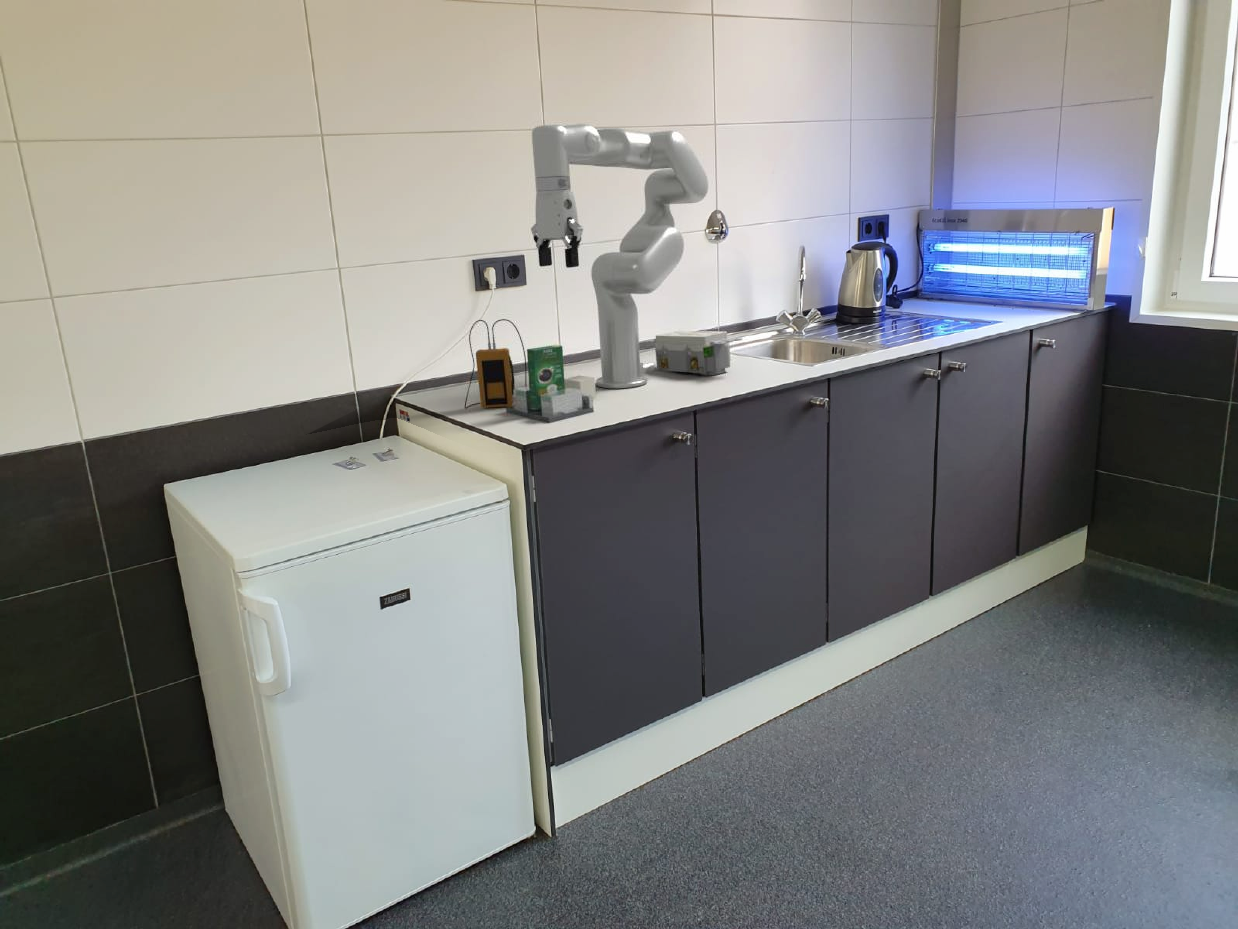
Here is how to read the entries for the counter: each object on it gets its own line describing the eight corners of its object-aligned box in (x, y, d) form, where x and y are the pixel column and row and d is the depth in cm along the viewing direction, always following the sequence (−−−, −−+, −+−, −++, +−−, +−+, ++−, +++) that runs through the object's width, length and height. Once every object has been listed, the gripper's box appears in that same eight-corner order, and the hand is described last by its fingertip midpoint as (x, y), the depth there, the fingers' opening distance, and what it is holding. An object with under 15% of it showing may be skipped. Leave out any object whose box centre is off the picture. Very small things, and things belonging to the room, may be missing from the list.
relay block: (580, 396, 216) (578, 375, 215) (595, 398, 213) (594, 377, 211) (565, 400, 212) (564, 379, 211) (581, 403, 209) (580, 381, 208)
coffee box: (559, 401, 205) (555, 343, 202) (567, 403, 203) (563, 344, 199) (529, 408, 201) (524, 348, 197) (537, 410, 198) (532, 350, 195)
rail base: (549, 401, 212) (547, 380, 210) (593, 411, 200) (592, 389, 199) (506, 411, 204) (504, 389, 203) (549, 422, 193) (547, 399, 191)
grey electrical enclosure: (718, 379, 223) (715, 337, 221) (640, 373, 245) (636, 336, 242) (750, 370, 230) (747, 330, 228) (672, 366, 252) (669, 329, 249)
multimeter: (531, 396, 218) (524, 312, 213) (529, 406, 209) (521, 317, 203) (469, 400, 218) (460, 315, 212) (464, 410, 209) (455, 321, 203)
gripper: (591, 183, 195) (596, 265, 200) (543, 186, 208) (549, 263, 213) (563, 185, 190) (569, 269, 195) (515, 188, 203) (522, 267, 208)
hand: (558, 266), depth 204 cm, fingers open, 9 cm apart
